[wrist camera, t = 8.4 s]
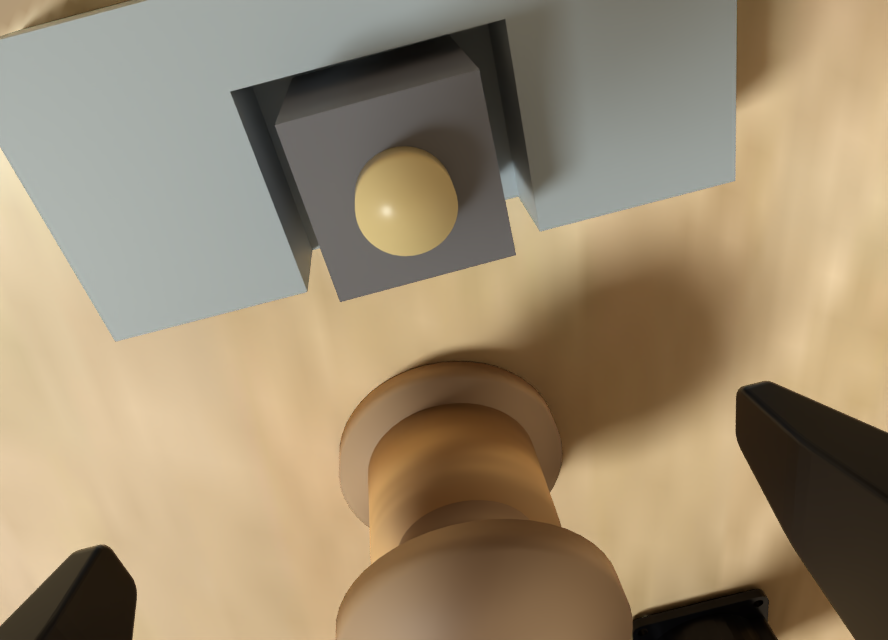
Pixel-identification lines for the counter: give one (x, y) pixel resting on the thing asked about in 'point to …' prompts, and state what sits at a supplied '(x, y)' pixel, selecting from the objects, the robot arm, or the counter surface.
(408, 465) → the bobbin
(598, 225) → the counter surface
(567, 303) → the counter surface
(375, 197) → the block
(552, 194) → the notch board
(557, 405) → the counter surface
